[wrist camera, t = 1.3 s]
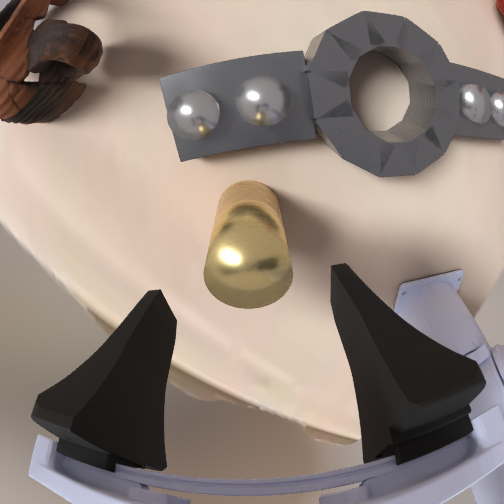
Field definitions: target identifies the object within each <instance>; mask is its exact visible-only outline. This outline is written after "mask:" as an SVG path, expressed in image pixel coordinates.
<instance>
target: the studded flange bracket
mask: <svg viewBox="0 0 504 504" xmlns="http://www.w3.org/2000/svg"><path fill="white" fill-rule="evenodd" d="M368 51H379V52H381V53H382V54H384V55H386V56H387V57H389V58H390V59H392V60H393V61H395V62H396V63H398V65H399V67H400V68H401V70H402V71H403V73H404V75H405V77H406V78H407V80H408V82H409V91H410V105H409V107H408V109H407V111H406V114H405V116H404V118H403V120H402V121H401V122H399V123H398V124H396V125H395V126H394V127H392V128H391V129H389V130H388V131H372V132H369V131H367V130H366V128H365V127H364V125H363V124H362V122H361V121H360V119H359V117H358V116H357V114H356V113H355V111H354V110H353V108H352V104H351V95H350V87H349V78H350V76H351V74H352V71H353V69H354V67H355V65H356V62H357V60H358V58H359V57H360V56H361V55H363V54H365V53H367V52H368ZM159 79H160V84H161V88H162V92H163V96H164V100H165V104H166V108H167V120H168V124H169V126H170V128H171V130H172V132H173V135H174V139H175V143H176V146H177V150H178V154H179V157H180V161H181V162H183V161H187V160H191V159H196V158H200V157H205V156H209V155H214V154H219V153H224V152H229V151H234V150H240V149H245V148H251V147H257V146H263V145H270V144H277V143H284V142H291V141H299V140H308V139H316V134H315V129H316V131H317V132H318V133H319V135H320V136H321V137H322V139H323V140H324V141H325V143H326V144H327V145H328V146H329V147H330V148H331V149H332V150H333V151H335V152H336V153H337V154H338V155H339V156H340V157H341V158H343V159H344V160H346V161H348V162H350V163H352V164H354V165H356V166H358V167H360V168H362V169H364V170H366V171H368V172H370V173H372V174H374V175H376V176H378V177H379V176H380V177H391V176H404V175H415V173H416V174H418V173H419V172H421V171H422V170H423V169H425V168H426V167H428V166H429V165H430V164H432V163H433V162H434V161H436V160H437V159H439V158H440V157H441V156H443V155H444V153H445V152H446V150H447V148H448V146H449V144H450V142H451V140H452V137H453V135H457V136H470V137H481V138H490V139H498V140H504V79H503V78H500V77H498V76H495V75H492V74H489V73H486V72H483V71H480V70H476V69H473V68H470V67H466V66H462V65H459V64H455V63H450V62H449V60H448V59H447V57H446V55H445V53H444V51H443V49H442V47H441V46H440V44H438V42H437V41H436V40H435V39H433V38H432V37H431V36H430V35H428V34H427V33H426V32H425V31H423V30H422V29H421V28H419V27H418V26H417V25H415V24H414V23H413V22H411V21H410V20H408V19H407V18H404V17H402V16H397V15H391V14H384V13H377V12H369V11H363V12H362V11H361V12H359V13H357V14H355V15H353V16H351V17H349V18H347V19H345V20H344V21H342V22H340V23H338V24H336V25H334V26H332V27H331V28H329V29H327V30H325V31H324V32H322V33H321V34H319V35H318V36H316V37H315V38H313V40H312V41H311V44H310V46H309V48H308V50H307V53H306V55H305V57H304V54H303V51H292V52H281V53H272V54H264V55H257V56H250V57H244V58H238V59H233V60H228V61H223V62H218V63H214V64H209V65H205V66H201V67H197V68H193V69H189V70H186V71H182V72H179V73H175V74H172V75H169V76H166V77H163V78H159ZM443 152H444V153H443Z"/></svg>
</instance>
